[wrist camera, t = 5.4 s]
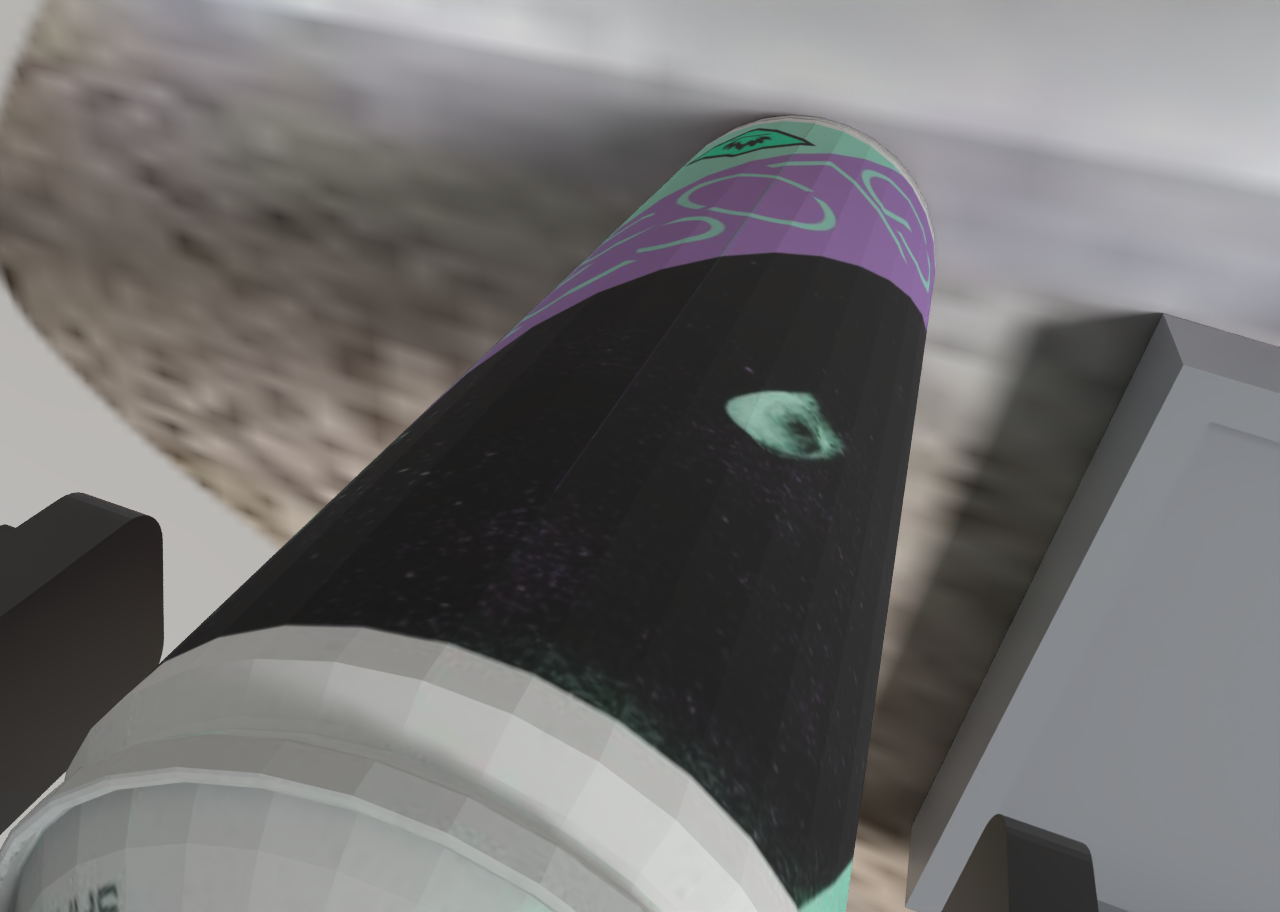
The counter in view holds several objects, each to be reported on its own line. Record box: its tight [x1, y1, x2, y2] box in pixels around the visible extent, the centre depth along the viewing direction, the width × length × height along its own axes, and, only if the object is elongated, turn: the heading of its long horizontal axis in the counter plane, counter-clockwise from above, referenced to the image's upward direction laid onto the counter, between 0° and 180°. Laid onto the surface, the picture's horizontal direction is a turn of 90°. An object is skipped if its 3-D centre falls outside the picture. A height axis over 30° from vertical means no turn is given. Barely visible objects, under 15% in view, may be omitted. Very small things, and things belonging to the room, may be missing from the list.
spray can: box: [0, 115, 936, 912], centre depth 13 cm, size 6×6×20 cm
